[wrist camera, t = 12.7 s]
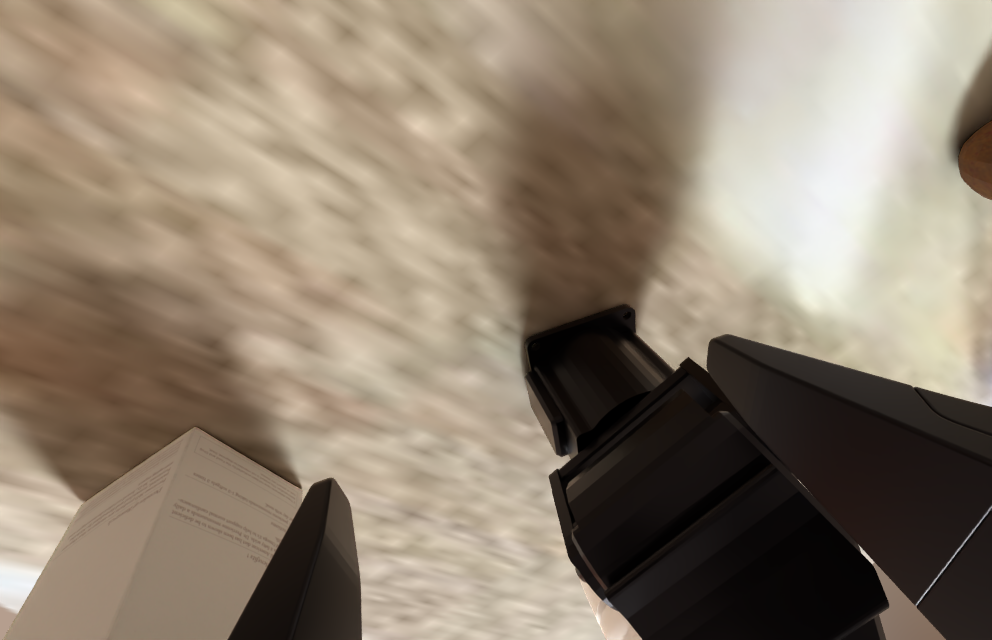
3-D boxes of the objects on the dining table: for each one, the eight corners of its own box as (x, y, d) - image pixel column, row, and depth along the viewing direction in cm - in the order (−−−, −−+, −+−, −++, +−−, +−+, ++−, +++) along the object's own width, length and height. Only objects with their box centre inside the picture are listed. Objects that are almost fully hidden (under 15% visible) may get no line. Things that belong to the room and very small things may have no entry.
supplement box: (76, 502, 21) (-186, 929, 11) (197, 420, 21) (47, 780, 10) (205, 558, 25) (106, 904, 15) (308, 490, 25) (280, 797, 15)
